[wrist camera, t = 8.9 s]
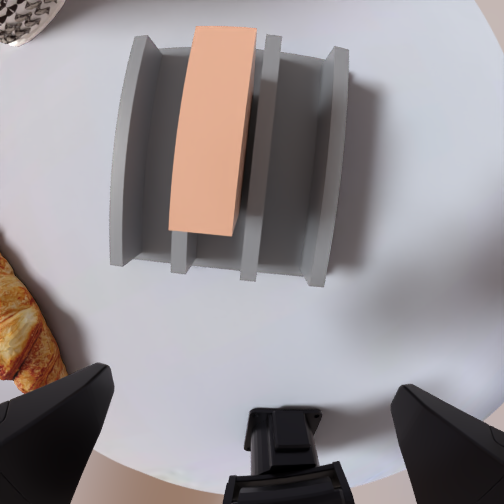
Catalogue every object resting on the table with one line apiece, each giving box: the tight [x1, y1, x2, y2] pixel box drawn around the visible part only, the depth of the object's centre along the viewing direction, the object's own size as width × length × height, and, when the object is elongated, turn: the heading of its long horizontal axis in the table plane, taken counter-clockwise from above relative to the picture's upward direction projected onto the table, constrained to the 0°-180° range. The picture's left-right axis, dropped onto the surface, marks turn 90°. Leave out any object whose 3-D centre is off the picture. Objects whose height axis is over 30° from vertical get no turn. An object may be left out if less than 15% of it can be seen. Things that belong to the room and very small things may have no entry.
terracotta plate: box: [168, 26, 257, 236], centre depth 12 cm, size 7×2×8 cm, turn 174°
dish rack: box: [109, 34, 349, 287], centre depth 14 cm, size 14×13×4 cm
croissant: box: [0, 253, 68, 394], centre depth 17 cm, size 21×10×8 cm, turn 22°
